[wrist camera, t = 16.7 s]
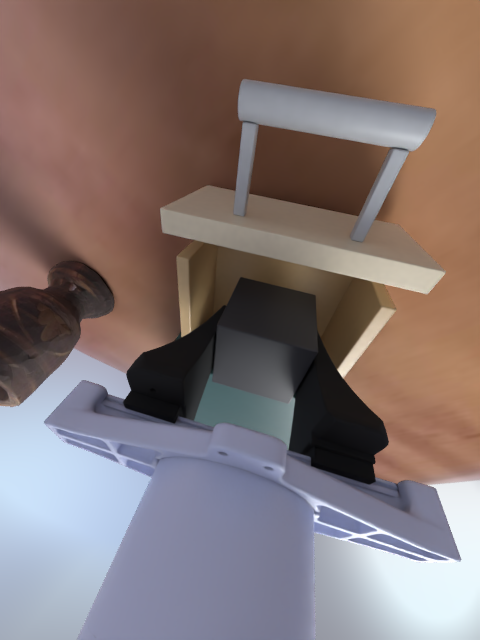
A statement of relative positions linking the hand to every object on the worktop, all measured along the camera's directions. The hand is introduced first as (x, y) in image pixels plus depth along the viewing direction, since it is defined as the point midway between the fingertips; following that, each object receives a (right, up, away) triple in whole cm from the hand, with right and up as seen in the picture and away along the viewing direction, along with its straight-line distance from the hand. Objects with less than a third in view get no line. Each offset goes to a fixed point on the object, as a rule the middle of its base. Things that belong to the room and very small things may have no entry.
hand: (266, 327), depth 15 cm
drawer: (+2, +5, +3) cm, 6 cm away
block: (0, +1, +1) cm, 1 cm away
